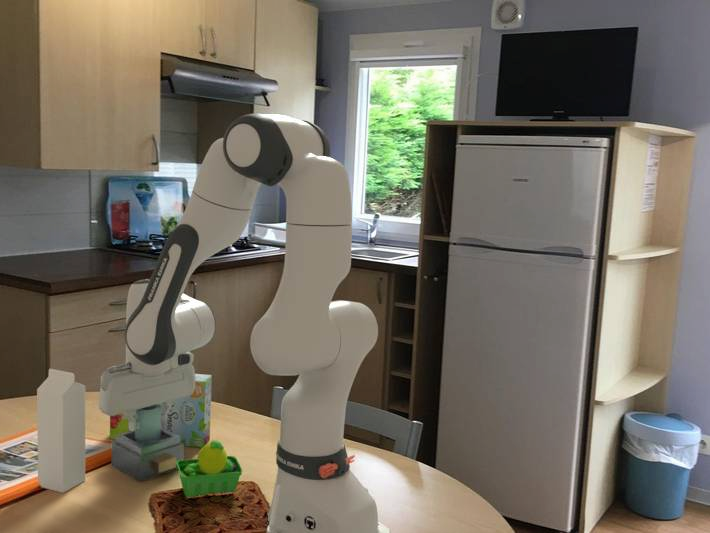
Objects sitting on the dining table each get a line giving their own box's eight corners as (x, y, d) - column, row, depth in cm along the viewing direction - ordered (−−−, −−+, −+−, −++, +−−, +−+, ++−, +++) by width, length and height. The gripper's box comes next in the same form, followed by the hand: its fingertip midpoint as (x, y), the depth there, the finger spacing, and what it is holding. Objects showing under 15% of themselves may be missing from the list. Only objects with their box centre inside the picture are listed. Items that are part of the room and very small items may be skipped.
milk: (60, 474, 144) (60, 364, 141) (86, 480, 142) (86, 369, 138) (37, 486, 138) (36, 372, 135) (62, 493, 136) (62, 377, 133)
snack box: (210, 439, 165) (212, 374, 163) (203, 449, 160) (205, 381, 157) (118, 430, 167) (119, 365, 165) (108, 439, 161) (108, 373, 159)
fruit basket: (234, 479, 146) (236, 424, 144) (244, 499, 138) (246, 442, 136) (175, 485, 142) (176, 429, 140) (181, 507, 134) (183, 447, 132)
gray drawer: (188, 469, 149) (188, 439, 148) (145, 485, 141) (145, 452, 140) (154, 452, 156) (154, 422, 155) (111, 465, 149) (111, 434, 148)
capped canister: (165, 436, 149) (166, 402, 148) (144, 442, 145) (144, 408, 144) (151, 429, 152) (151, 396, 151) (129, 435, 148) (129, 401, 147)
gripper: (110, 372, 136) (110, 444, 138) (200, 353, 151) (198, 418, 154) (92, 364, 140) (92, 434, 142) (181, 346, 155) (180, 410, 158)
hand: (148, 425), depth 148 cm, fingers closed on capped canister, 5 cm apart
